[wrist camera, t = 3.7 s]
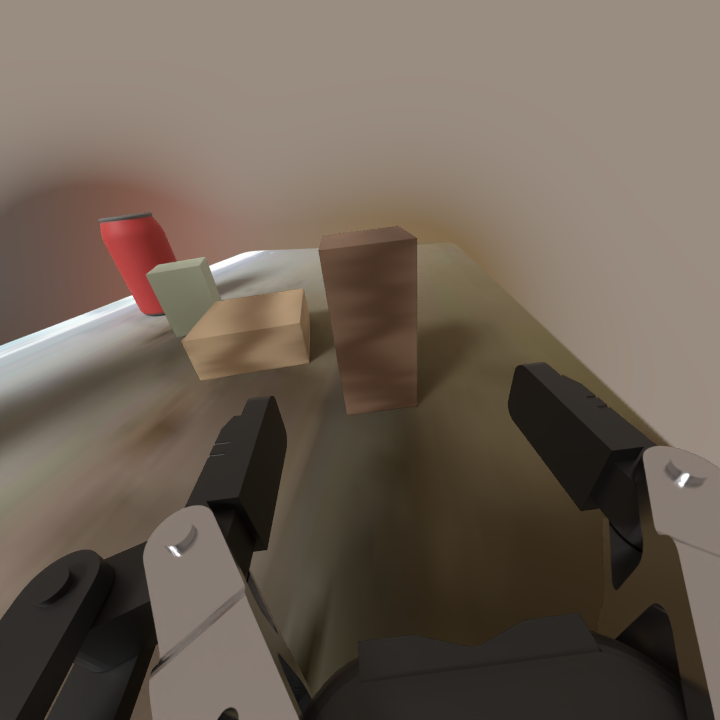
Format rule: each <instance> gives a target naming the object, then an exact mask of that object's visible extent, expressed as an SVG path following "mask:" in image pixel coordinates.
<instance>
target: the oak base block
mask: <svg viewBox="0 0 720 720" xmlns="http://www.w3.org/2000/svg"><path fill="white" fill-rule="evenodd" d="M181 342H182V344H183V346H184V348H185V350H186V352H187V354H188V356H189V358H190V360H191V362H192V365H193V367H194V369H195V371H196V373H197V375H198V377H199V379H200V381H201V380H207V379H213V378H219V377H226V376H232V375H238V374H244V373H250V372H256V371H263V370H269V369H275V368H281V367H287V366H294V365H300V364H306V363H309V355H310V316H309V312H308V307H307V303H306V298H305V293H304V289H296V290H290V291H283V292H276V293H269V294H263V295H256V296H249V297H242V298H236V299H229V300H222V301H216V302H215V303H214V304H213V305H212V306H211V307H210V309H209V310H208V311H207V312H206V313H205V314H204V316H203V317H202V318H201V319H200V320H199V321H198V323H197V324H196V325H195V326H194V327H193V328H192V329H191V331H190V332H189V333H188V334H187V335H186V336H185V338H184V339H183V340H182V341H181Z"/></svg>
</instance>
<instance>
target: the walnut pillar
mask: <svg viewBox="0 0 720 720" xmlns="http://www.w3.org/2000/svg"><path fill="white" fill-rule="evenodd" d="M318 251H319V256H320V262H321V268H322V274H323V279H324V285H325V291H326V297H327V302H328V308H329V314H330V320H331V325H332V331H333V337H334V343H335V349H336V354H337V360H338V366H339V372H340V377H341V383H342V389H343V395H344V400H345V406H346V412H347V415H353V414H361V413H369V412H376V411H384V410H392V409H399V408H407V407H415V406H417V238H416V237H415V236H413V235H412V234H410V233H408V232H407V231H405V230H404V229H402V228H401V227H399V226H395V227H387V228H379V229H371V230H363V231H356V232H348V233H340V234H333V235H324V236H322V239H321V243H320V247H319V250H318Z"/></svg>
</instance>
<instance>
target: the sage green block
mask: <svg viewBox="0 0 720 720" xmlns="http://www.w3.org/2000/svg"><path fill="white" fill-rule="evenodd" d="M146 277H147V279H148V281H149V283H150V285H151V287H152V289H153V291H154V293H155V295H156V297H157V299H158V301H159V303H160V305H161V307H162V309H163V311H164V313H165V315H166V317H167V319H168V321H169V323H170V325H171V327H172V329H173V331H174V333H175V335H176V337H181V336H186V335H187V334H188V333H189V332H190V331H191V329H192V328H193V327H194V326H195V325H196V324H197V323H198V321H199V320H200V319H201V318H202V317H203V316H204V314H205V313H206V312H207V311H208V310H209V309H210V307H211V306H212V305H213V304H214V303H215V302H216V301H222V300H221V298H220V295H219V292H218V290H217V287H216V284H215V282H214V279H213V276H212V273H211V271H210V268H209V265H208V263H207V260H206V257H202V258H196V259H191V260H184V261H178V262H172V263H166V264H160V265H157V266H156V267H155V268H153V269H152V270H151V271H150V272H148V273H147V274H146Z"/></svg>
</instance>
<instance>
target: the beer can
mask: <svg viewBox="0 0 720 720" xmlns="http://www.w3.org/2000/svg"><path fill="white" fill-rule="evenodd" d="M98 221H99V222H100V224H101V234H102V238H103V241H104V243H105V245H106V247H107V249H108V251H109V253H110V254H111V256H112V258H113V260H114V262H115V264H116V265H117V267H118V269H119V271H120V273H121V275H122V277H123V278H124V280H125V282H126V284H127V286H128V288H129V290H130V292H131V294H132V295H133V297H134V299H135V301H136V303H137V305H138V307H139V308H140V310H141V312H143V313H144V314H146V315H151V316H157V315H165V313H164V311H163V309H162V307H161V305H160V303H159V301H158V299H157V297H156V295H155V293H154V291H153V289H152V287H151V285H150V283H149V281H148V279H147V277H146V274H147V273H148V272H150V271H151V270H152V269H153V268H155V267H156V266H157V265H160V264H166V263H172V262H177V261H176V258H175V256H174V253H173V251H172V249H171V247H170V244H169V242H168V239H167V237H166V235H165V232H164V231H163V229H162V228H161V226H160V225H159V223H158V222H157V221H156V220H155V219H154V218H153V217H152V213H150V212H148V213H141V214H132V215H124V216H116V217H109V218H102V219H98Z"/></svg>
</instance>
